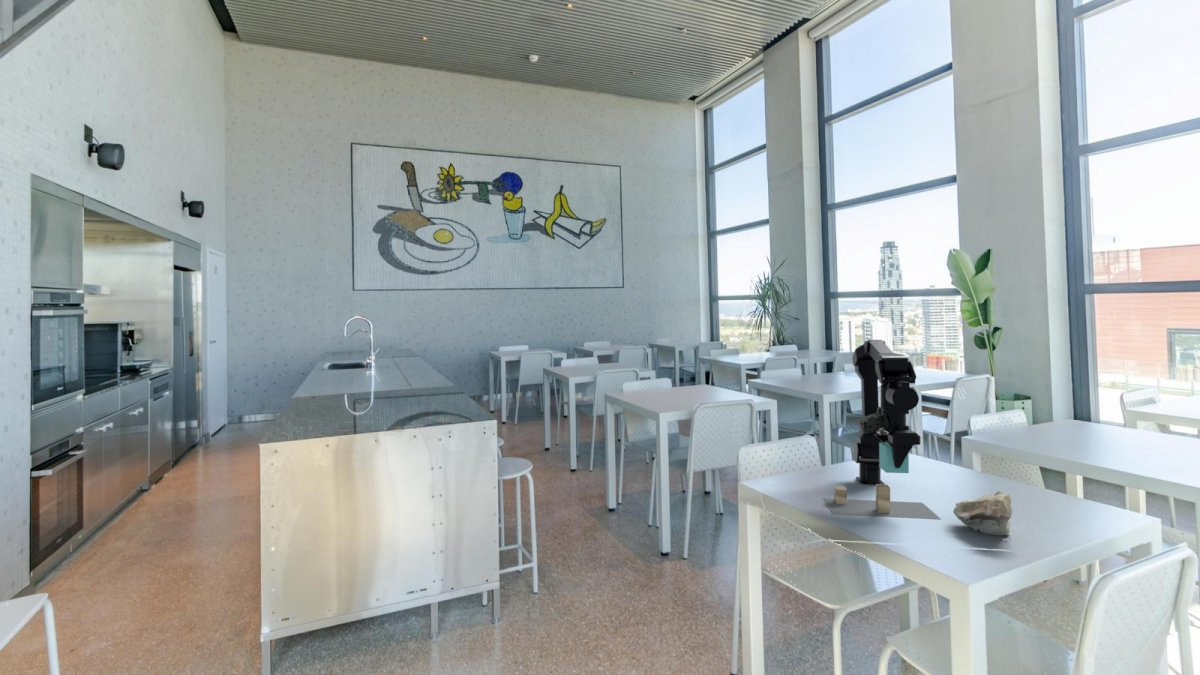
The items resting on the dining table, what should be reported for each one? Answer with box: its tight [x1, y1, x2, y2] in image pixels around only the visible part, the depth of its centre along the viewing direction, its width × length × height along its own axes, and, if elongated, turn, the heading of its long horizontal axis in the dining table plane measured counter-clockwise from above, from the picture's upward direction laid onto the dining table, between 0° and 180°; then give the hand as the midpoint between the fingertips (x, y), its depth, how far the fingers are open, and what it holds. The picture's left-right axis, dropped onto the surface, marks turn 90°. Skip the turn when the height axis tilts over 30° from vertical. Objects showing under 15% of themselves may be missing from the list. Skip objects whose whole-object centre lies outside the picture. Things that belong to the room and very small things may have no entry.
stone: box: [953, 491, 1013, 537], centre depth 125 cm, size 11×14×10 cm
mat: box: [821, 498, 942, 521], centre depth 140 cm, size 12×25×1 cm, turn 79°
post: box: [875, 483, 891, 513], centre depth 138 cm, size 3×3×6 cm
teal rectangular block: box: [879, 442, 910, 474], centre depth 139 cm, size 5×5×7 cm
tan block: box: [833, 485, 848, 505], centre depth 145 cm, size 3×3×4 cm
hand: (893, 465), depth 139 cm, fingers closed on teal rectangular block, 5 cm apart
